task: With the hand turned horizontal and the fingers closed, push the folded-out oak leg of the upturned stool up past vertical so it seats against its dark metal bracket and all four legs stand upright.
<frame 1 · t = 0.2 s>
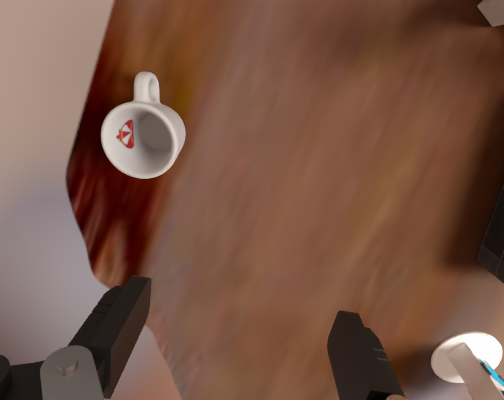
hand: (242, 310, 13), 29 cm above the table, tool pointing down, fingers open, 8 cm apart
panda figurine: (465, 357, 52), on the table
cup: (161, 118, 39), on the table
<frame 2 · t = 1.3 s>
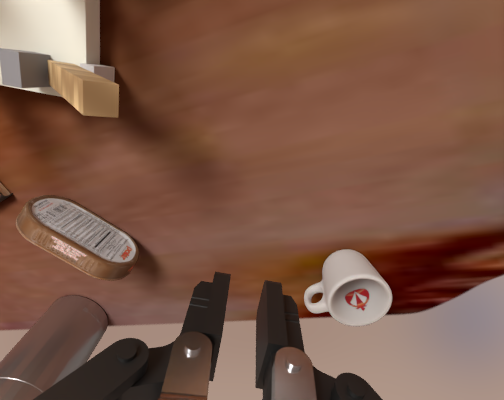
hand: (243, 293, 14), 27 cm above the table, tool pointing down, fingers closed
tin: (99, 221, 43), on the table
leg: (77, 84, 27), point 10 cm above the table, hinge at 40.0°
stool: (26, 10, 33), on the table
cup: (334, 268, 45), on the table
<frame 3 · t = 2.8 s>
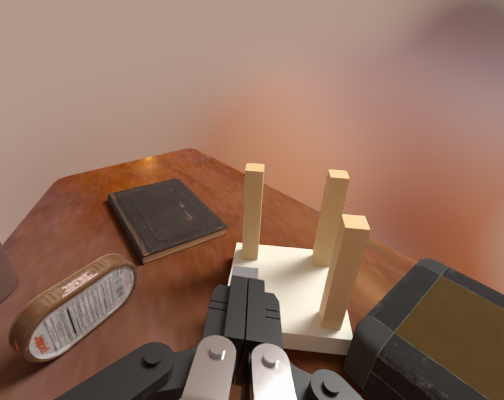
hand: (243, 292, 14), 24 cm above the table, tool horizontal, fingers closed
tin: (91, 326, 40), on the table
stool: (283, 297, 45), on the table
hardcover book: (164, 219, 62), on the table
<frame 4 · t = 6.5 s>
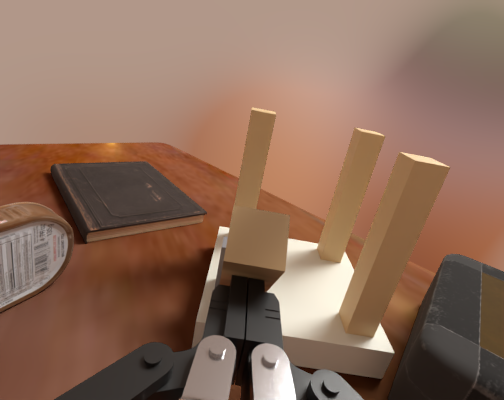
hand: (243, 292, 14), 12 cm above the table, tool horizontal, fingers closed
leg: (240, 279, 19), point 10 cm above the table, hinge at 40.0°, touching gripper, stool
stool: (281, 298, 32), on the table
hardcover book: (123, 201, 48), on the table
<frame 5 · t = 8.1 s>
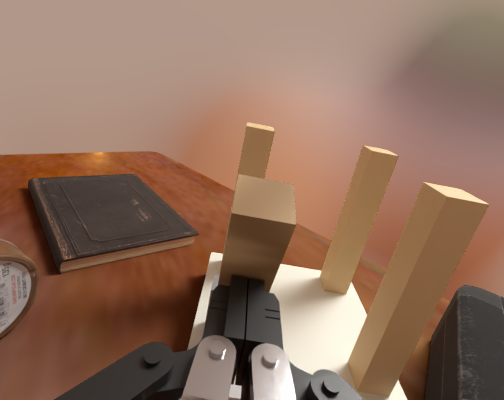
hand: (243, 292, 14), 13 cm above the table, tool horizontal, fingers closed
leg: (237, 297, 17), point 10 cm above the table, hinge at 19.5°, touching gripper, stool
stool: (280, 338, 29), on the table
hardcover book: (107, 219, 44), on the table
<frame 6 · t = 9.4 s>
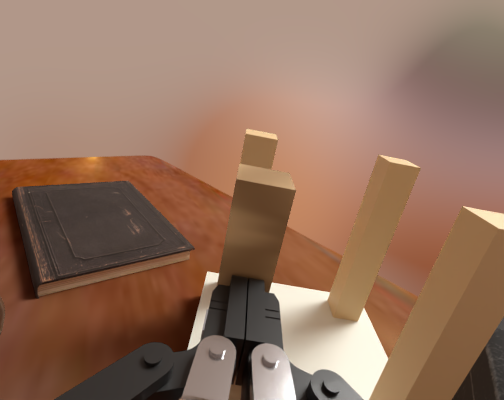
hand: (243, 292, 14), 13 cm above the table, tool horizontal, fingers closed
leg: (235, 311, 16), point 10 cm above the table, hinge at 0.0°, touching gripper, stool
stool: (284, 375, 25), on the table
hardcover book: (96, 232, 41), on the table
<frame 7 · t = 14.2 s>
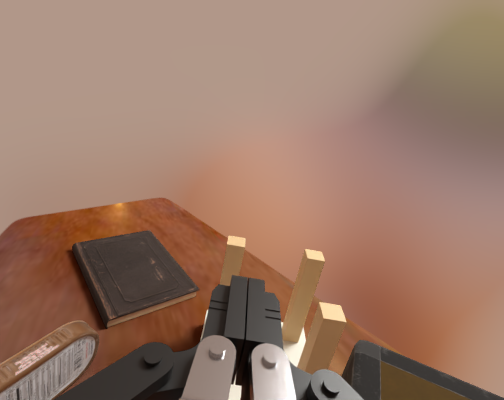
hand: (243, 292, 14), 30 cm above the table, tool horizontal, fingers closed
stool: (250, 375, 44), on the table
hardcover book: (132, 275, 59), on the table
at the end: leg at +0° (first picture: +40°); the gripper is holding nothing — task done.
